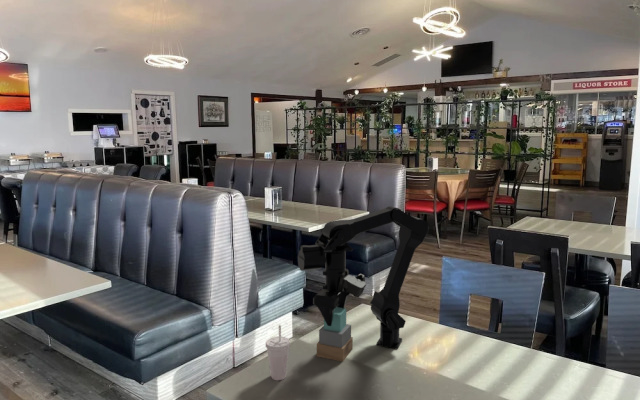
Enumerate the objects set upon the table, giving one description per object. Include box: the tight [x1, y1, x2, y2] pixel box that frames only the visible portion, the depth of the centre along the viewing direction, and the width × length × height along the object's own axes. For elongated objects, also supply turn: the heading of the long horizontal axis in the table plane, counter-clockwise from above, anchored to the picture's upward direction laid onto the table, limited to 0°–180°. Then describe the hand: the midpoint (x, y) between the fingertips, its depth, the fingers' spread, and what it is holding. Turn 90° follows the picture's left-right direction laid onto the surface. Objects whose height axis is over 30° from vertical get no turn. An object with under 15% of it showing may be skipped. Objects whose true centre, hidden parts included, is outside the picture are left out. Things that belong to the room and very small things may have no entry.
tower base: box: [316, 336, 354, 362], centre depth 133 cm, size 8×8×4 cm
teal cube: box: [323, 307, 347, 332], centre depth 132 cm, size 5×5×5 cm
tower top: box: [318, 323, 352, 348], centre depth 133 cm, size 7×7×4 cm
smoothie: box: [265, 324, 291, 381], centre depth 120 cm, size 6×6×14 cm
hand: (335, 319), depth 132 cm, fingers open, 9 cm apart
